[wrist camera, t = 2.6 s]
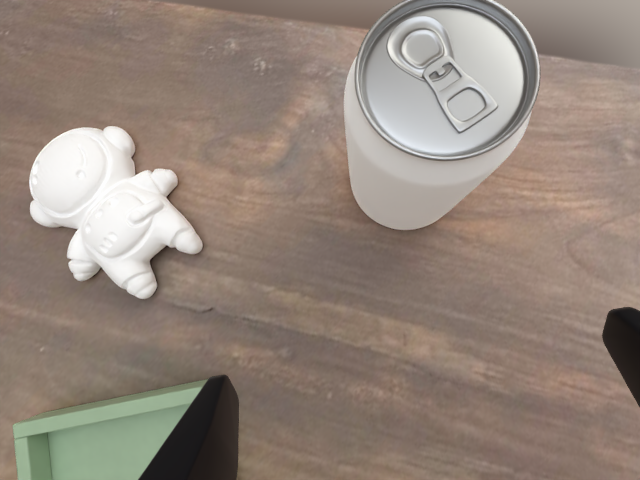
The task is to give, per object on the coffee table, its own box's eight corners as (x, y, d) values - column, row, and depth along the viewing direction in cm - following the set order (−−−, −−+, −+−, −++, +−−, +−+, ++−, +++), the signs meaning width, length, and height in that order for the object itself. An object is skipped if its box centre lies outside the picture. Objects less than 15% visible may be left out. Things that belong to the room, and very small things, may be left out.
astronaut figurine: (119, 327, 25) (86, 332, 22) (18, 185, 27) (-26, 171, 24) (227, 236, 25) (209, 228, 22) (119, 100, 27) (88, 76, 24)
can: (417, 106, 25) (469, -62, 13) (481, 191, 24) (603, 92, 12) (329, 166, 25) (301, 53, 13) (390, 253, 24) (420, 216, 12)
